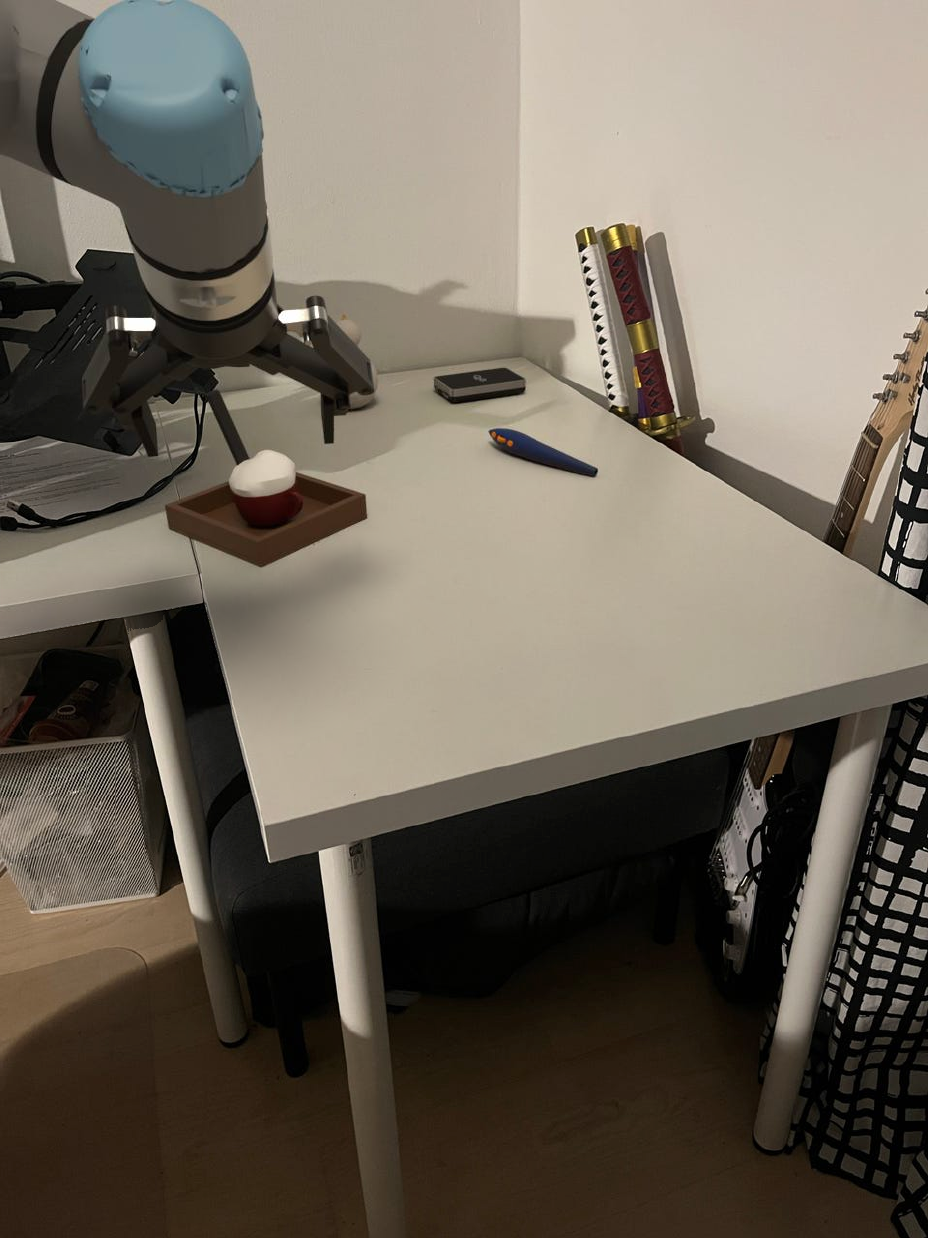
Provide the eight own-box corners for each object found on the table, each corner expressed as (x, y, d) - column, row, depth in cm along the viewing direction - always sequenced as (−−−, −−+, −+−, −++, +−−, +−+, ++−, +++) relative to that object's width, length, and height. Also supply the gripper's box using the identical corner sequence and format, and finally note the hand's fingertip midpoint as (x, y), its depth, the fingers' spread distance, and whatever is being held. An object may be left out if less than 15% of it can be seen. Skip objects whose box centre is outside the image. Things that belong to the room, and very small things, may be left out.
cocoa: (317, 527, 92) (305, 404, 87) (256, 543, 90) (238, 417, 84) (275, 496, 99) (262, 380, 93) (217, 510, 96) (199, 391, 90)
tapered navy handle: (602, 483, 106) (607, 462, 105) (583, 486, 103) (588, 464, 102) (496, 440, 115) (500, 419, 114) (476, 441, 112) (481, 420, 111)
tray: (261, 567, 86) (257, 541, 85) (168, 528, 94) (164, 504, 93) (367, 517, 96) (365, 494, 94) (275, 486, 103) (272, 463, 102)
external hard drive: (432, 391, 132) (432, 376, 131) (506, 380, 136) (506, 366, 135) (452, 405, 126) (451, 390, 125) (528, 394, 130) (528, 379, 129)
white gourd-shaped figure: (363, 394, 131) (357, 303, 125) (397, 412, 124) (392, 317, 118) (312, 403, 128) (303, 310, 122) (344, 423, 121) (337, 325, 115)
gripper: (-19, 339, 53) (78, 491, 74) (428, 316, 57) (403, 465, 78) (-21, 223, 55) (74, 401, 75) (412, 208, 59) (391, 381, 80)
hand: (241, 434), depth 77 cm, fingers open, 13 cm apart
